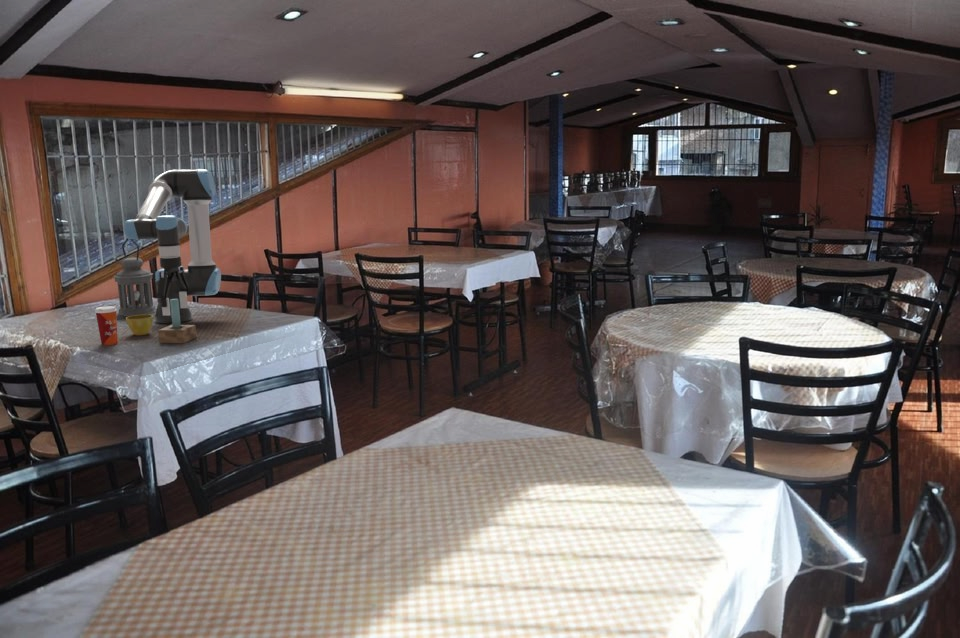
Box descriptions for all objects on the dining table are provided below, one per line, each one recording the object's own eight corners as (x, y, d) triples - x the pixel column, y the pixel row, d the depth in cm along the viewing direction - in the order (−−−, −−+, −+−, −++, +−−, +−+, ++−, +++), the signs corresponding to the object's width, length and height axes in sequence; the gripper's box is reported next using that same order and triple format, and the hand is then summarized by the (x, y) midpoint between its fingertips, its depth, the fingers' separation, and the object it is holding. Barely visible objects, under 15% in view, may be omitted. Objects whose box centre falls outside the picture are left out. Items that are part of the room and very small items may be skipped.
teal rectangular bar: (176, 339, 307) (172, 298, 304) (183, 339, 307) (179, 298, 304) (172, 341, 304) (168, 300, 301) (179, 341, 304) (175, 300, 301)
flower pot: (141, 330, 324) (139, 313, 323) (160, 332, 321) (158, 315, 319) (122, 336, 315) (120, 318, 314) (141, 337, 312) (139, 319, 310)
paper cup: (112, 346, 297) (107, 309, 295) (94, 345, 299) (89, 309, 296) (125, 341, 305) (121, 306, 302) (107, 341, 306) (103, 305, 304)
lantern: (164, 309, 371) (157, 235, 364) (141, 316, 355) (133, 238, 348) (133, 308, 375) (125, 235, 368) (109, 315, 359) (100, 238, 353)
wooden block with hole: (172, 337, 311) (171, 324, 310) (196, 337, 310) (195, 324, 309) (159, 342, 301) (158, 330, 300) (184, 343, 300) (182, 330, 299)
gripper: (177, 252, 312) (182, 305, 316) (143, 261, 288) (149, 318, 292) (195, 252, 311) (200, 305, 315) (162, 261, 287) (168, 318, 291)
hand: (175, 311), depth 304 cm, fingers open, 13 cm apart
